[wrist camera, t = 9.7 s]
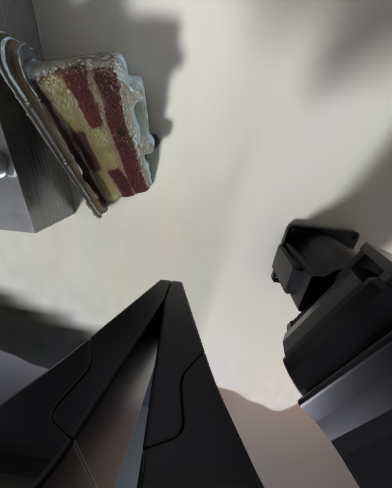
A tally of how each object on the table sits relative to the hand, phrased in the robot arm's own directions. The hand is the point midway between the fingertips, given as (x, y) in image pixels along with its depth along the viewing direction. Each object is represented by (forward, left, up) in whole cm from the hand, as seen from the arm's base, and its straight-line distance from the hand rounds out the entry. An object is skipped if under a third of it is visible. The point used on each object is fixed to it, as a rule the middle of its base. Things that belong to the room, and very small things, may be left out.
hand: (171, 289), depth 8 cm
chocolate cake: (+7, -5, -12) cm, 15 cm away
